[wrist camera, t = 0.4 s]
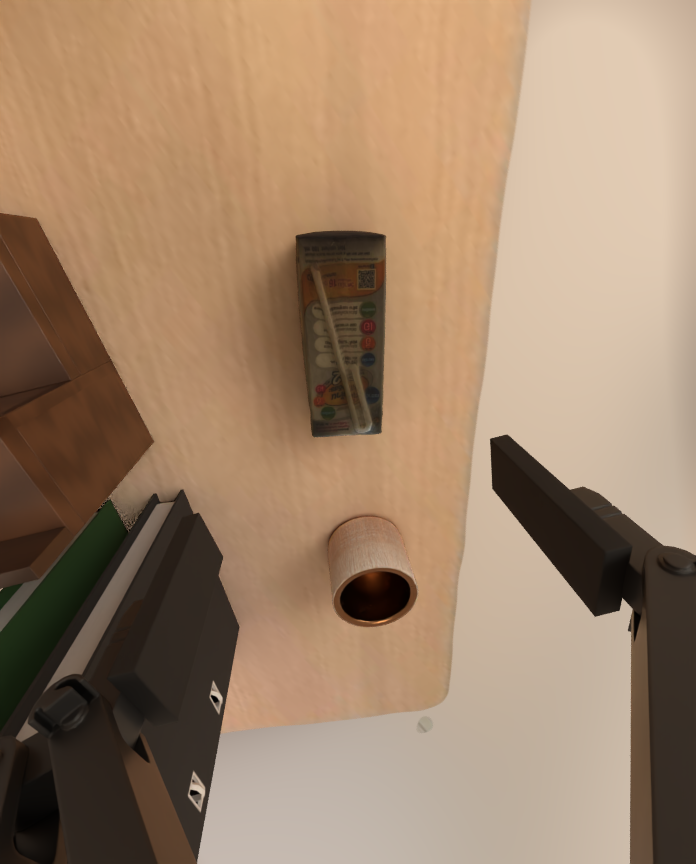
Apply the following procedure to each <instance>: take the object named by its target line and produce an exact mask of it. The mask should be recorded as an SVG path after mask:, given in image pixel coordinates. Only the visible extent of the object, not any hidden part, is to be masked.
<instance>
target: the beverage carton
mask: <svg viewBox="0 0 696 864" xmlns="http://www.w3.org/2000/svg"><path fill="white" fill-rule="evenodd" d="M296 264H297V283H298V299H299V311H300V322H301V334H302V346H303V356H304V365H305V374H306V382H307V391H308V399H309V406H310V412H311V430H312V436H313V437H329V436H343V435H372V434H379V433H381V432H382V430H381V426H382V415H383V411H382V405H383V371H384V342H385V300H386V236H385V235H382V234H377V233H371V232H362V231H323V232H313V233H307V234H301V235H297V236H296Z"/></svg>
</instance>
